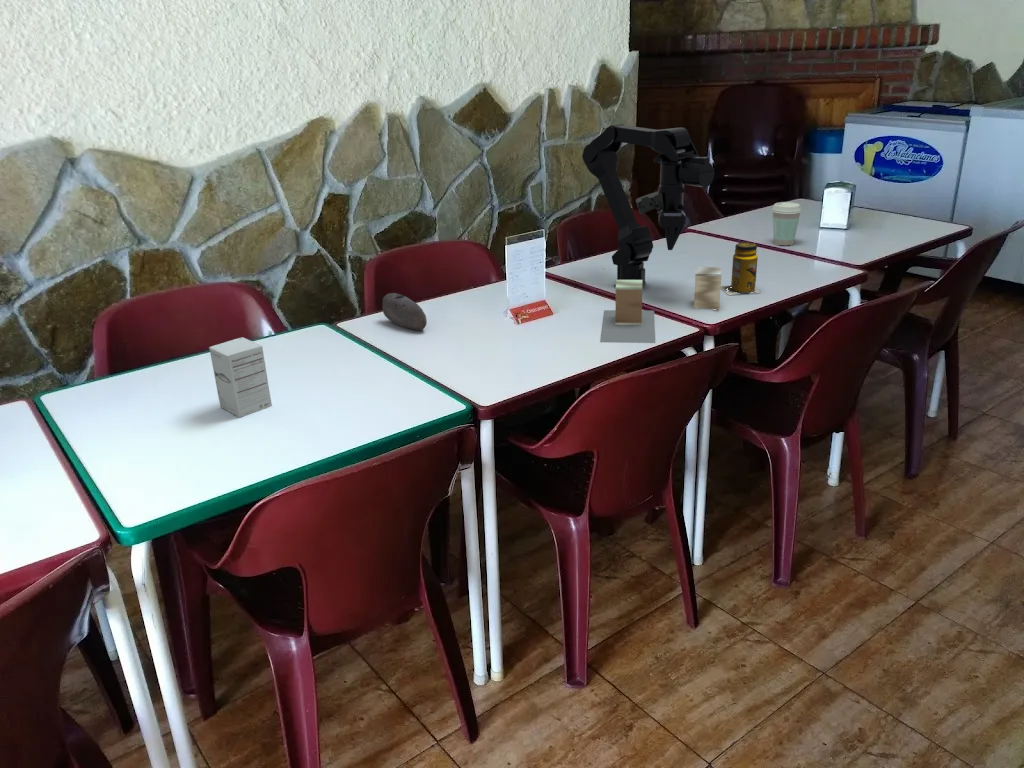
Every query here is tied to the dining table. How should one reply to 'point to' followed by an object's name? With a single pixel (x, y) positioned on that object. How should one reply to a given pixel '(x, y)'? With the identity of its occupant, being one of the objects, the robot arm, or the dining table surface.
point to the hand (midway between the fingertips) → (669, 245)
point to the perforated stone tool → (404, 311)
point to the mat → (628, 329)
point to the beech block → (707, 287)
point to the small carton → (628, 302)
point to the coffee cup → (785, 222)
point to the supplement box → (240, 376)
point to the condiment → (743, 269)
